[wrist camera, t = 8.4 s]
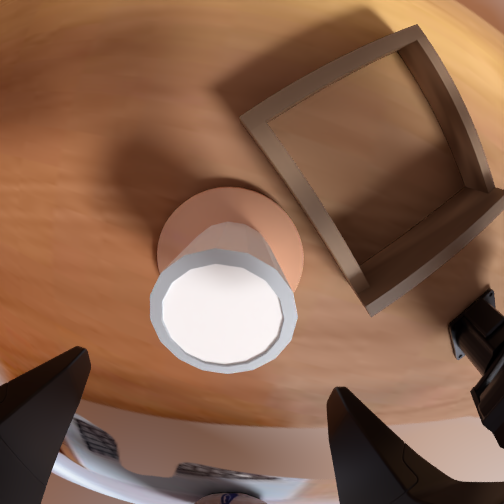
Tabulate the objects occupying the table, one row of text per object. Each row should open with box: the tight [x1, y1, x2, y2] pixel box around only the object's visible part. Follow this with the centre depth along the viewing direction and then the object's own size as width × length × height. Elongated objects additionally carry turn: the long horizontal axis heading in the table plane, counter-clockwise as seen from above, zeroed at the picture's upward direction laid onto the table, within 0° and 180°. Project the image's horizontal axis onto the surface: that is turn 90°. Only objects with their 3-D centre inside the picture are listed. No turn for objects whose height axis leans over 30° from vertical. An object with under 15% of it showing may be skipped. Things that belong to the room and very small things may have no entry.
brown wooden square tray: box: [239, 24, 504, 317], centre depth 15 cm, size 14×14×4 cm
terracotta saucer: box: [157, 187, 304, 293], centre depth 19 cm, size 10×10×1 cm
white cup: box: [150, 222, 298, 374], centre depth 16 cm, size 7×7×7 cm
